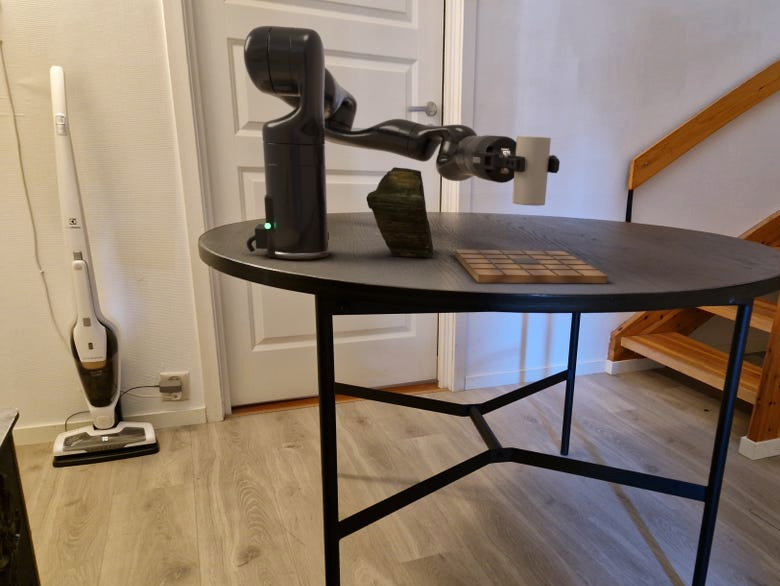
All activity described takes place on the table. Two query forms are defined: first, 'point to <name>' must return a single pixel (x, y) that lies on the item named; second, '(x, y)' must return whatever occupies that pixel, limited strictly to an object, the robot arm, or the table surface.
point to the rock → (402, 213)
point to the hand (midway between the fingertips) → (539, 165)
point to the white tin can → (531, 171)
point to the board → (527, 267)
